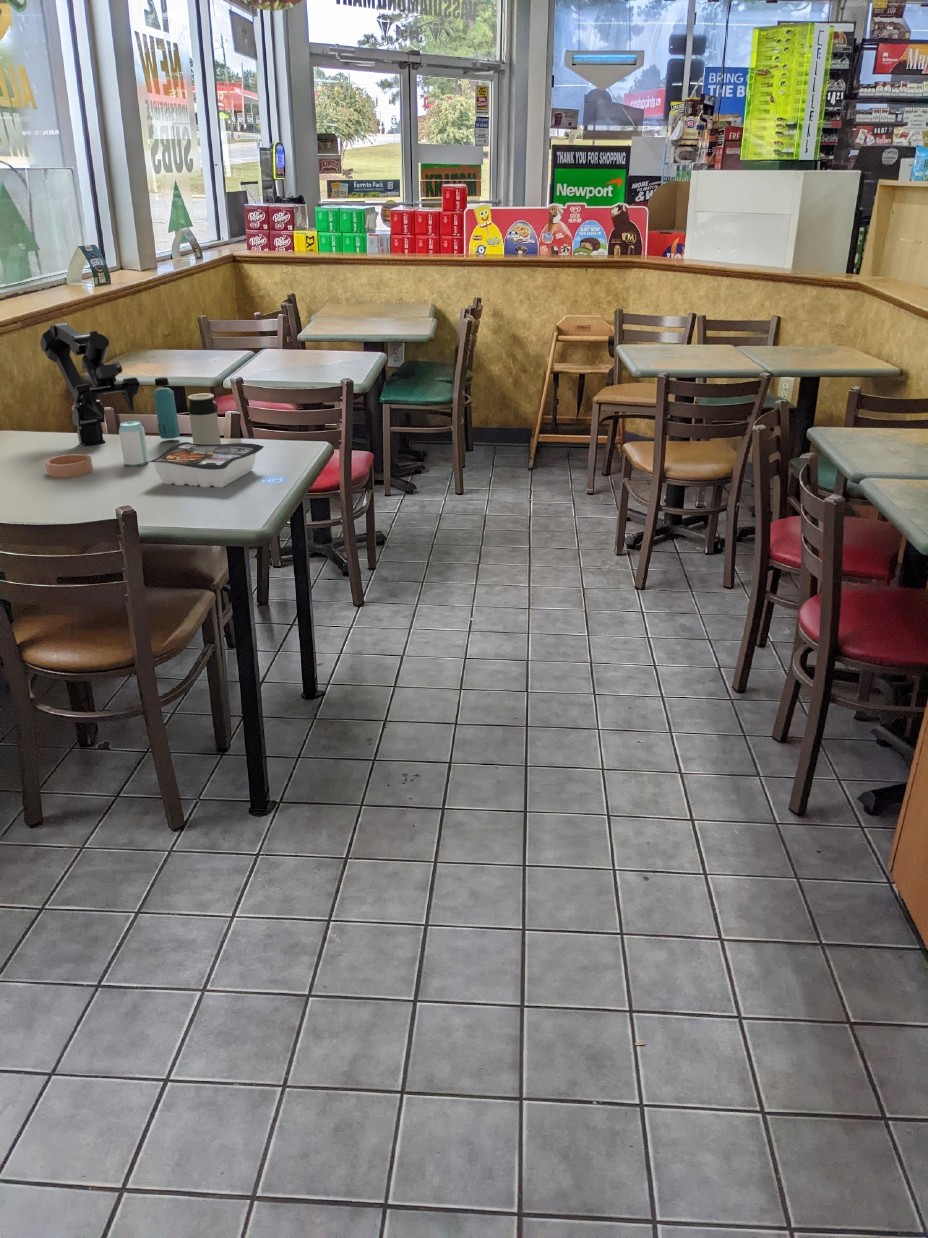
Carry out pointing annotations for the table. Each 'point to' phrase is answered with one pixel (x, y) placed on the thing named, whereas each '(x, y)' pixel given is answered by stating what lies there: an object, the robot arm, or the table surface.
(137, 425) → the can
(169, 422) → the beverage bottle
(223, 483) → the food packaging
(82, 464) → the bowl
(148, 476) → the table surface
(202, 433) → the travel mug
